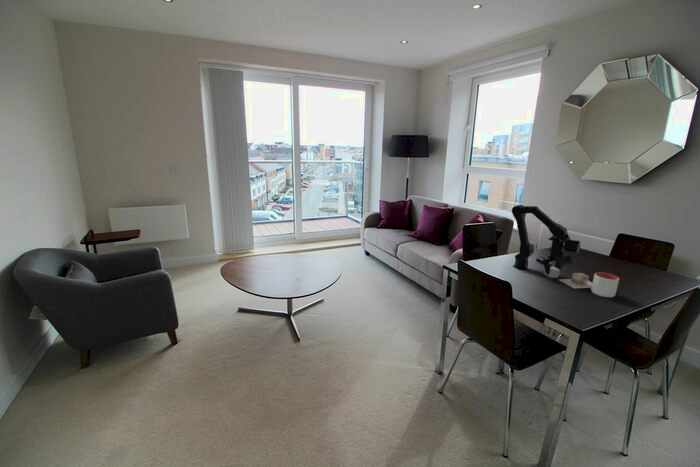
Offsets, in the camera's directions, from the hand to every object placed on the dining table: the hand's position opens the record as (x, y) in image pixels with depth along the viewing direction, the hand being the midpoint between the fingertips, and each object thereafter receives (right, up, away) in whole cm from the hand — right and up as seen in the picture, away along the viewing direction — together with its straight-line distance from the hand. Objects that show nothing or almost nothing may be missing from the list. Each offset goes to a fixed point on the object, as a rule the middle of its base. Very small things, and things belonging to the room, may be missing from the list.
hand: (551, 274), depth 187 cm
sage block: (0, -1, 0) cm, 1 cm away
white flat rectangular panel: (+9, -4, -9) cm, 14 cm away
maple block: (+9, -4, -9) cm, 14 cm away
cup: (+13, -8, -21) cm, 26 cm away
